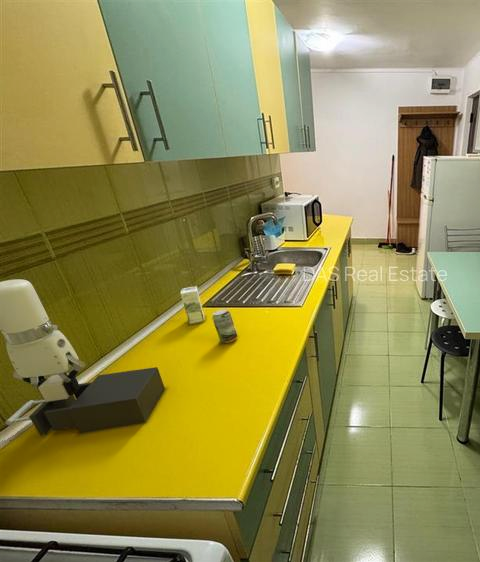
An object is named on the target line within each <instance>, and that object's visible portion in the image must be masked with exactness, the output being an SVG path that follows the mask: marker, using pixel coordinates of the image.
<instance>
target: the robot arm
mask: <svg viewBox="0 0 480 562" xmlns="http://www.w3.org/2000/svg"><path fill="white" fill-rule="evenodd" d="M58 328H59V327H58V325H57V324H52V321H51V320H50V317H49V316H48V314H47V312H46V310H45V308H44V306H43V303H42V302H41V300H40V298H39V296H38V293H37V291H36V289H35V287H34V286H33V284H32V283H31V281H29V280H26V279H21V278H19V279H9V280H2V281H0V332H1V334H2V336H3V338H4V339H5V341H6V342H5V348H6V351H7V355H8V358H9V360H10V363H11V365H12V366H13V369H14V372H13V374H12V378H14V379H16V380H17V379H18V380H22V381H23V382H25V383H28V384H30V385H31V386H32V387H33V388H37V390H38V392H39V394H40V395H41V397H42V400H44V398H43V396H42V394H41V392H40V391H39V389H38V387H39V386H40V385H41V384H43V383H44V382H45V381H46V380H47V379H48V378H47V376H53V375H59V376H60V377H61V378H62V379H63V380H64V381H65V382H64V383H63V386H64V387H65V389H66V391H67V393H68V395H69V396H71V395H74V393H75V392H76V391H77V390H78V389H79V388H80V386H79V384H80V383H79V381H78V379H77V378H76V377H77V376H78V373H80V372H81V370H83V369H84V368H85V367H86V366H87V365H86V363H85V362H83V361H82V360H80V358H79V356H78V354H77V352H76V350H75V349H74V347H73V345H72V344H71V343H70V341H69V339H67V337H66V336H65V335H64V333H63V332H61V330H59V329H58ZM67 373H69V375H67Z"/></svg>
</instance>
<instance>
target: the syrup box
mask: <svg viewBox="0 0 480 562" xmlns="http://www.w3.org/2000/svg"><path fill="white" fill-rule="evenodd" d="M180 297H181V300H182V304H183V308H184V310H185V314H186V318H187V321H188V325H189V326H190V325H194V324H200V323H203V322H205V313H204V310H203V305H202V301H201V297H200V294H199V290H198V286H197V285H195V286H189V287H184V288H181V289H180Z"/></svg>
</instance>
